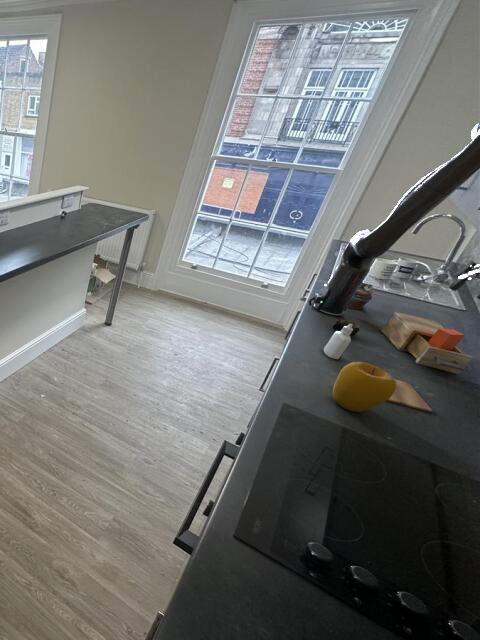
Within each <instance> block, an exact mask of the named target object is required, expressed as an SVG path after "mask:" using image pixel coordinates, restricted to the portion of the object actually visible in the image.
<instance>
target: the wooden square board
mask: <svg viewBox="0 0 480 640" xmlns="http://www.w3.org/2000/svg"><path fill="white" fill-rule="evenodd" d="M393 379H394V380H395V381H396V388H395V391H394V393H393V395H392V396H391V397H390V398H389V399H388V400H387V401H388V402H391V403H394V404H399V405H402V406H406V407H409V408H413V409H417V410H420V411H424V412H427V413H433V412H434V410H433V409H432V408H431V407H430V406H429V404H428V403H427V402H426V400H425V399H423V398H422V397H421V395H420V394H419V393H418V392H417V390H416V389H415V388H414V387H413V386H412V385H411V383H410V382H408V381H403V380H400V379H395V378H393ZM387 401H386V402H387Z"/></svg>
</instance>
